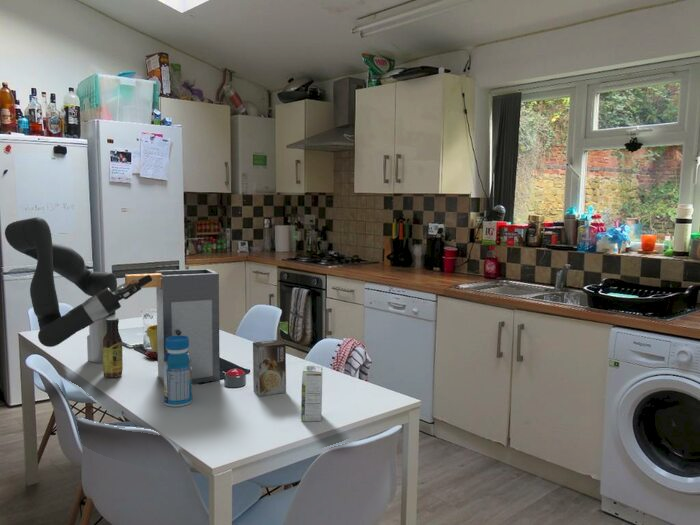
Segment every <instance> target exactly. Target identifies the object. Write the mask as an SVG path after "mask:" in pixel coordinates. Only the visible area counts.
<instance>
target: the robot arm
mask: <svg viewBox="0 0 700 525" xmlns="http://www.w3.org/2000/svg"><path fill="white" fill-rule="evenodd" d="M4 229H5V230H4V237H5V239H6V241H7V243H8V244H9V245H10V246H11V247H12V248H13V249H14V250H16V252H17V251H18V252H19V253H21V254H24V255H25V256H28V257H30V258H32V259H34V260H36V261H37V262H36V266H35V271H34V274H33V276H32V278H31V282H30V287H29V294H30V299H31V304H32V309H33V312H34V315H35V316H36V317H37V318H36V319H37V322H38V326H39V327H38V329H39V331H38V334H37V339H38V341H39V343H40V344H41V345H43V346H44V347H48V348H50V347H51V348H52V347H56V346H59V345H61V343H63V342H64V341H66V340H67V339H69V338H71V337H72V336H73V335H75V334H76V333H77V332H80V331H82V330H84V329H86V328H87V327H88V329H89V330H88V332H89V335H86V342H87V343H86V346H87V347H86V349H87V351H86V352H87V361H88V362H91V363H96V364H97V363H98V364H103V338H104V336H105V335H106V333H107V331H106V330H107V324H106V319H108V318H117V317H116V316H117V314H116V311H117V310H118V309H120V308H121V307H122V305H121V303H120V302H119V301H121V300H123V299H124V300H128V299H129V298H131V297H132V296H133V295H135V294H136V293H137V292H139V291H141V290H142V286H144V285H146V284H147V283H149V282H151V281H152V278H151V276H150V275H147V276H145V277H143V278H142V279H140V280H139V281H136V282H134V283H133V284H132V283H129V284H128V285H126V284H125V282H124V283H122V284H119V285H118V280H117V277H116V275H115V274H114V273H113V272H110V271H109V272H108V271H107V272H106V271H92V270H89V269H87V268H86V266H85V265H86V263H85V260H84V258H83V257H82V255H81V254H80V253H78V252H77V251H76V250H74V249H73V248H71V247H70V246H67V245H65V244H62V243H58V242H57V243H56V242H54V241H53V240H52V232H51V228H50V226H49V224H48V222H47V221H46V220H45V219H44V218H42V217H39V216H37V217H30V218H25V219H20V220H16V221H13V222H11V223H8V225H7V226H6V227H5V228H4ZM54 272H55V273H57V274H58V275H60V276H61V277H63V278H64V279H66V280H67V281H69V282H71V283H72V284H74V285H75V286H76V287H77V288H78V289H80V290H81V291H82V292H83V293H84V294H85V295H87V296H89V298H87V299H86V300H84V302H82V303H80V304H79V305H76V306H75V307H73V308H72V309H71V310H69V311H68V312H66V314H64V315H61V312H60V305H59V300H58V294H57V290H56V284H55V278H54ZM144 274H149V273H148V272H145V273H144ZM128 286H129V287H128ZM134 286H135V287H136V288H134Z"/></svg>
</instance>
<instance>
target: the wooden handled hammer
mask: <svg viewBox="0 0 700 525" xmlns="http://www.w3.org/2000/svg"><path fill="white" fill-rule="evenodd" d="M197 274H205V273H197ZM147 275H150V276H151V278H152V281H151V282H149V283H147V284H146V285H144V286H142V288H143V289H145V288H146V289H147V288H156V287H161V288H162V277H161V275H162V274H161V273H156V272H154V273H148V274H145V273H135V274H134V273H133V274H129V273H128V274H127V273H126V274H125V275H124V280H125V281H124V283H125V284H126V285H128V284H129V283H132V284H133V283H134V282H136V281H139V280H140V279H142V278H143V277H145V276H147ZM173 275H181V274H173ZM128 287H129V286H128ZM134 288H136V287H135V286H134ZM142 288H141V289H142Z"/></svg>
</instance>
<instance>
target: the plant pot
mask: <svg viewBox="0 0 700 525" xmlns="http://www.w3.org/2000/svg"><path fill="white" fill-rule="evenodd" d="M146 335H147V337H148V339H149V344H150V348H151V351H152V350H153V351H157V352H158V344H157V324H154V325H149V326H147V329H146Z"/></svg>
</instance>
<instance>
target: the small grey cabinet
mask: <svg viewBox="0 0 700 525" xmlns="http://www.w3.org/2000/svg"><path fill="white" fill-rule="evenodd" d="M155 273H161V274H162V275H161V277H162V288H161V287H155V288H156V290H155V291H156V292H155V293H156V325H157V344H158V353H157V376H158V378H159V380H160V381H161V383H162V385H163V386H164V373H163V367H164V362H163V359H164V356H165V354H166V353H167V351H168V350H166V344H165V340H166V338H167V337H170V336H177V335H181V336H187V337H188V338H189V348H188V349H187V350H188V352H189V353H190V355H191V358H192V361H191V365H192V385H194V384H202V383H201V382H204V383H210V382H209V381H212V382H218V381H219V380H221V379H220V378H221V376H220V372H221V371H220V370H221V369H220V366H221V365H220V364H221V362H220V360H221V358H220V354H221V353H220V274H219V272H216V271H215V270H212V269H211V268H194V269H189V268H188V269H169V270H167V269H165V270H156V271H155ZM197 273H205V274H197ZM173 274H181V275H173Z"/></svg>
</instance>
